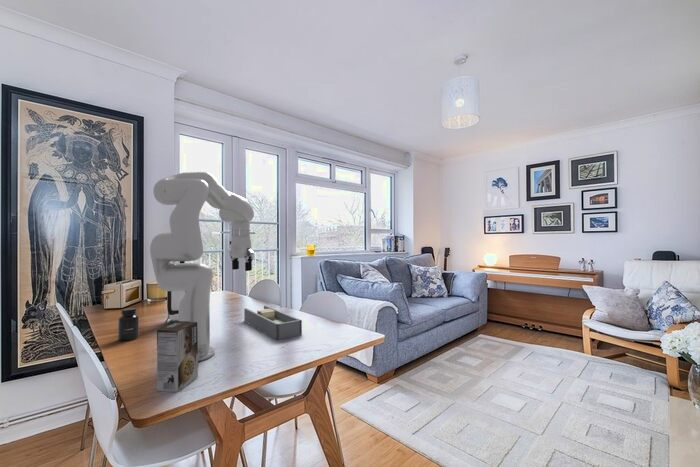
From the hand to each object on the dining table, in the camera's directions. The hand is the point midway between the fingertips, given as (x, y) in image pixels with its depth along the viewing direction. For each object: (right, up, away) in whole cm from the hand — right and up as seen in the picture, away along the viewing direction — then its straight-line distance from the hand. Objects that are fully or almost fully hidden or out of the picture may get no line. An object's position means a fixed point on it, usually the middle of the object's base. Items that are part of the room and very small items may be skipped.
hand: (241, 270), depth 149 cm
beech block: (+11, -23, 0) cm, 26 cm away
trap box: (+15, -25, -5) cm, 30 cm away
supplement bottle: (-39, -26, -20) cm, 51 cm away
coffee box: (+3, -25, -61) cm, 66 cm away
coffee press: (-32, -26, +7) cm, 41 cm away
